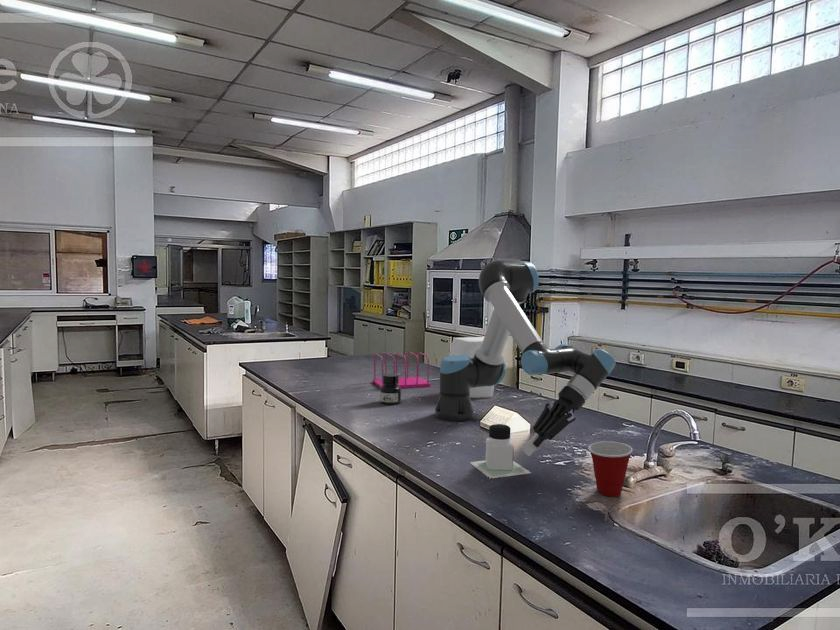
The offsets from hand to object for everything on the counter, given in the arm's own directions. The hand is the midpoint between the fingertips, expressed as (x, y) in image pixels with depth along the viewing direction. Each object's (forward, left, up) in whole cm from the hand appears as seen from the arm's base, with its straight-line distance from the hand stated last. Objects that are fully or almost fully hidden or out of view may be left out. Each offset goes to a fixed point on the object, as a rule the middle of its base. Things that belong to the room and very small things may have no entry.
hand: (525, 452), depth 156 cm
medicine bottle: (-6, -5, -4) cm, 9 cm away
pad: (-6, -6, -4) cm, 9 cm away
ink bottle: (-70, +47, -4) cm, 84 cm away
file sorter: (-83, +82, -4) cm, 117 cm away
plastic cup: (+24, -10, -4) cm, 26 cm away
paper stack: (-46, +79, -4) cm, 92 cm away
